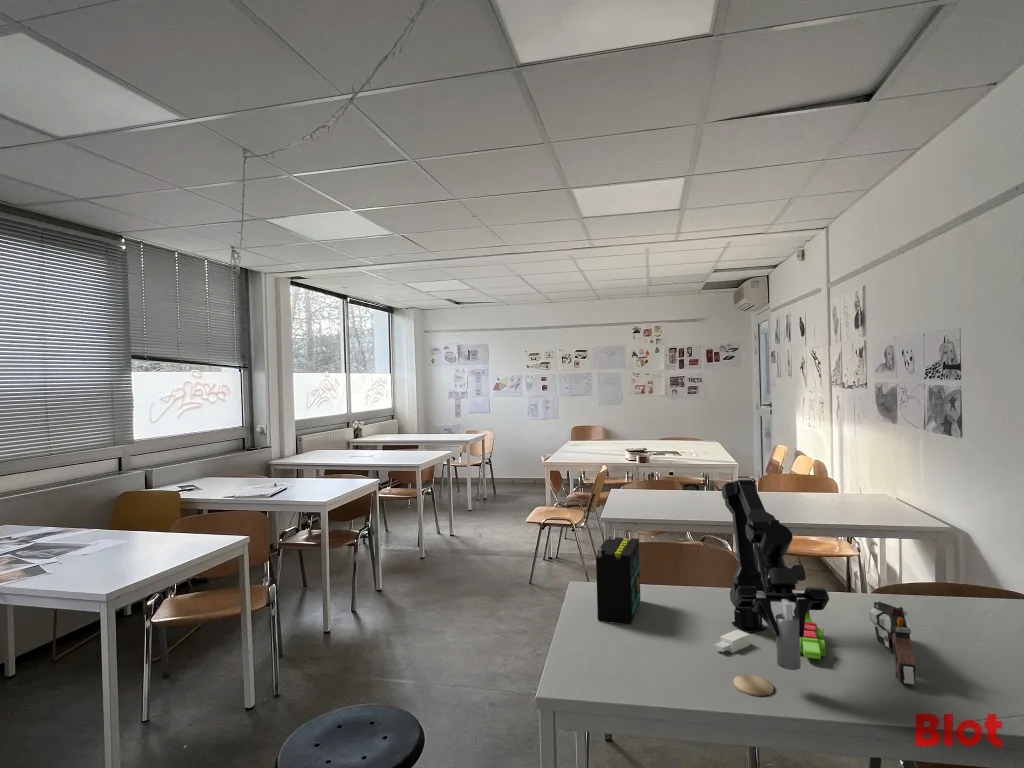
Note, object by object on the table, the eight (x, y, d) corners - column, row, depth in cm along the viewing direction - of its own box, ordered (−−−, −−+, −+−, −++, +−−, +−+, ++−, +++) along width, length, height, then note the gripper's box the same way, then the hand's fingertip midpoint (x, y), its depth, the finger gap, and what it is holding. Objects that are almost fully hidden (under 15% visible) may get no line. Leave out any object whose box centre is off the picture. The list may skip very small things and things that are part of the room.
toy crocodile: (826, 668, 133) (825, 641, 133) (794, 663, 136) (793, 637, 136) (823, 635, 151) (822, 611, 151) (794, 631, 154) (794, 608, 154)
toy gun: (893, 663, 146) (888, 601, 150) (923, 686, 121) (915, 610, 125) (872, 661, 148) (867, 599, 152) (897, 682, 123) (890, 607, 127)
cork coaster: (754, 674, 131) (754, 672, 131) (782, 691, 123) (782, 688, 123) (725, 681, 128) (725, 678, 128) (751, 699, 120) (751, 696, 120)
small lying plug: (737, 641, 148) (737, 629, 149) (749, 646, 146) (749, 634, 146) (712, 651, 143) (712, 639, 143) (724, 656, 140) (724, 644, 140)
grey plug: (774, 659, 126) (772, 597, 126) (796, 660, 126) (794, 598, 126) (780, 669, 122) (778, 605, 122) (803, 670, 121) (801, 606, 121)
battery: (609, 597, 181) (607, 534, 182) (640, 600, 178) (638, 535, 178) (597, 621, 163) (595, 550, 164) (631, 625, 160) (629, 552, 160)
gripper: (735, 549, 129) (749, 618, 118) (824, 551, 126) (847, 621, 115) (728, 573, 137) (741, 640, 126) (812, 575, 134) (833, 644, 123)
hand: (789, 636), depth 122 cm, fingers closed on grey plug, 5 cm apart
